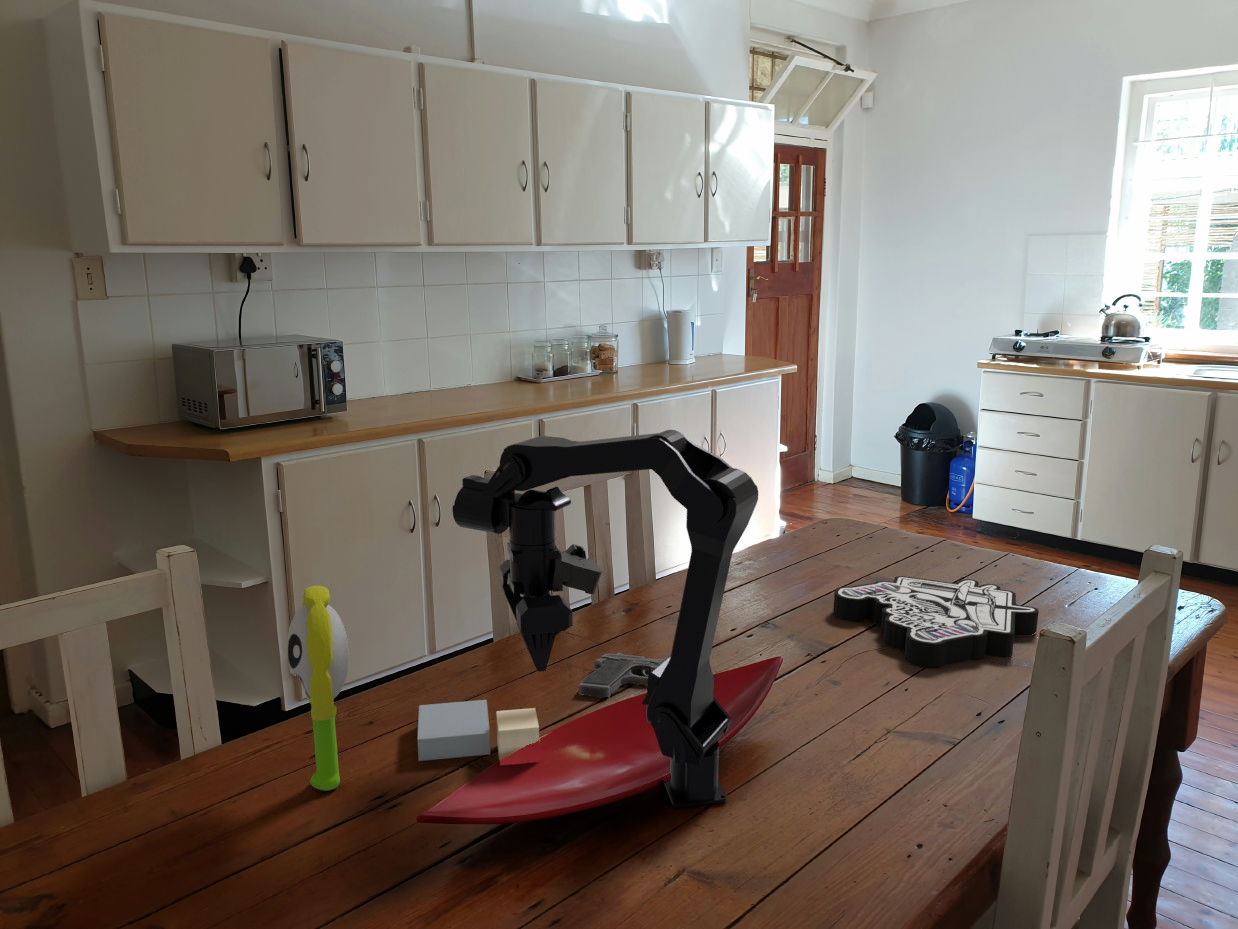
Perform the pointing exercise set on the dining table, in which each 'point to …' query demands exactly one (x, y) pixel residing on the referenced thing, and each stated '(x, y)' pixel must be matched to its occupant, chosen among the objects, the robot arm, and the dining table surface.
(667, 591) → the dining table surface
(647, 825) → the dining table surface
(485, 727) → the base
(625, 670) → the handgun
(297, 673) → the toy
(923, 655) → the decorative sign
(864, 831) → the dining table surface
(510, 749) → the cube
